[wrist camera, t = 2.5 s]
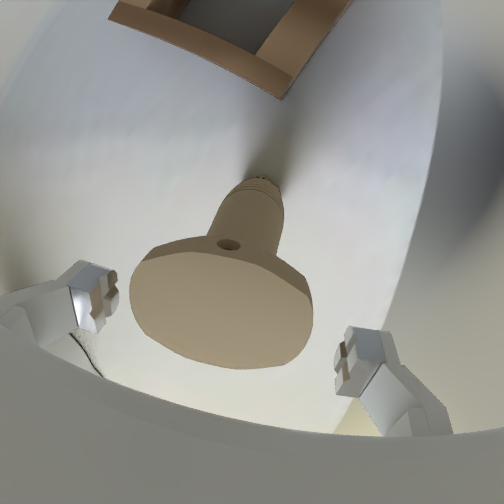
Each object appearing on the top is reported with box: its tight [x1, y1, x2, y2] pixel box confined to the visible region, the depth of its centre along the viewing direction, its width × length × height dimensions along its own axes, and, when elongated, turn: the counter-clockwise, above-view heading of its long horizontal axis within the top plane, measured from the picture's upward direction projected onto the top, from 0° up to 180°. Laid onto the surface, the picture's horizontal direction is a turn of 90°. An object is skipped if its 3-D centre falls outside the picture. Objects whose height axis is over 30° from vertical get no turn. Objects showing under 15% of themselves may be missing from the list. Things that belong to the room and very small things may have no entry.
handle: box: [129, 175, 313, 369], centre depth 17 cm, size 5×6×15 cm
